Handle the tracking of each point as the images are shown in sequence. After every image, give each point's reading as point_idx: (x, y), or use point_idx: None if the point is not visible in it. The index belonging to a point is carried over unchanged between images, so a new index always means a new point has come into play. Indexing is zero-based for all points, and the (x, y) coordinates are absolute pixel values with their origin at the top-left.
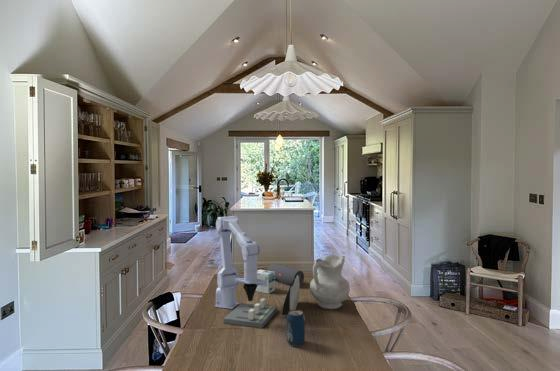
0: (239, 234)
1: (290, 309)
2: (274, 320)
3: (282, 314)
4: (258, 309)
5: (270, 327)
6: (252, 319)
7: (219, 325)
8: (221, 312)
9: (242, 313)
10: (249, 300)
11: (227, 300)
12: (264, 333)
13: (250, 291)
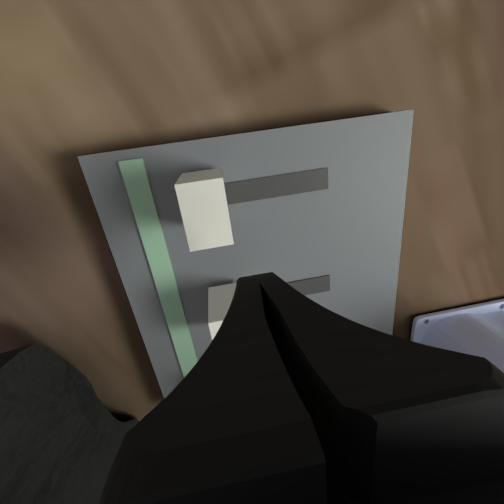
0: None
1: None
2: (105, 299)
3: (33, 345)
4: (209, 308)
5: (49, 192)
6: (183, 173)
7: (404, 55)
8: (457, 253)
9: (319, 254)
10: (259, 276)
11: (480, 344)
12: (5, 64)
13: (247, 351)
